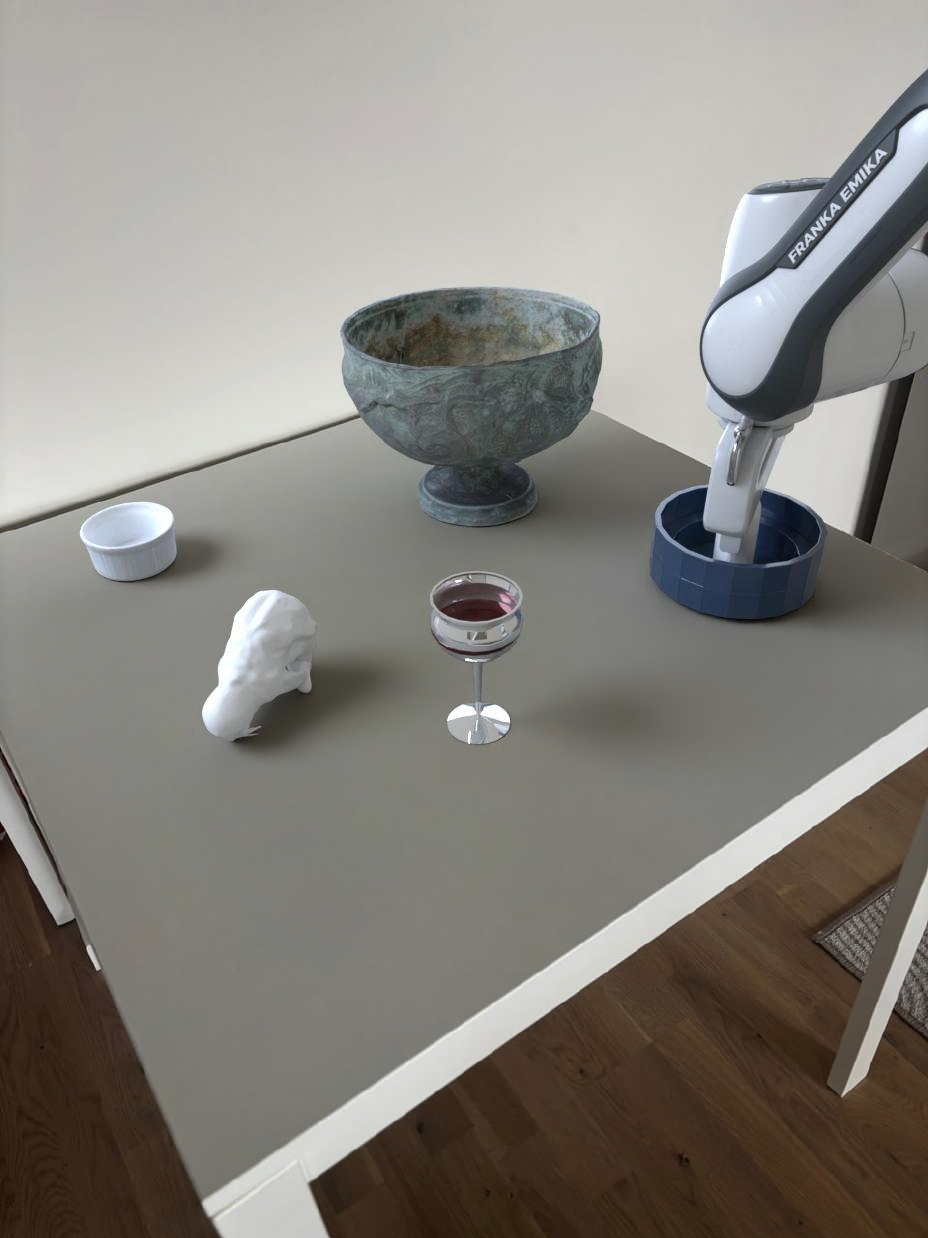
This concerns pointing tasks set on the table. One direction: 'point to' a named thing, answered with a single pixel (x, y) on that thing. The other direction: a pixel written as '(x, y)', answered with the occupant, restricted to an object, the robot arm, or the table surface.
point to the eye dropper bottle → (747, 545)
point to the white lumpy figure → (261, 661)
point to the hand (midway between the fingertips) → (737, 530)
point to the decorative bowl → (473, 388)
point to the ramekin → (130, 540)
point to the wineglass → (477, 641)
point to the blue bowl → (730, 588)
